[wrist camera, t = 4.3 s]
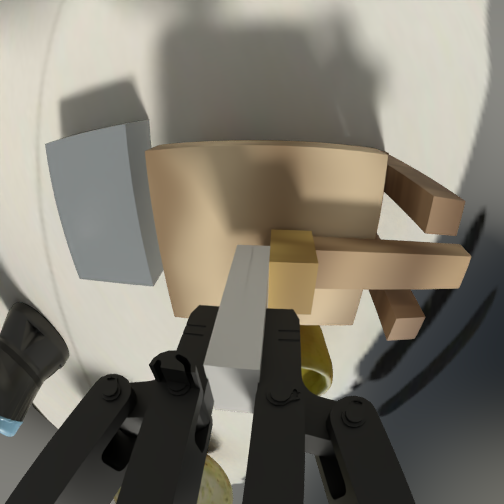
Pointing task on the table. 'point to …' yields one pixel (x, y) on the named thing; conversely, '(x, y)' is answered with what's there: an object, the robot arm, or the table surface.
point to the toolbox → (431, 222)
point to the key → (356, 266)
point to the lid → (258, 210)
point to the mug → (315, 360)
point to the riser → (107, 203)
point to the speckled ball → (211, 485)
